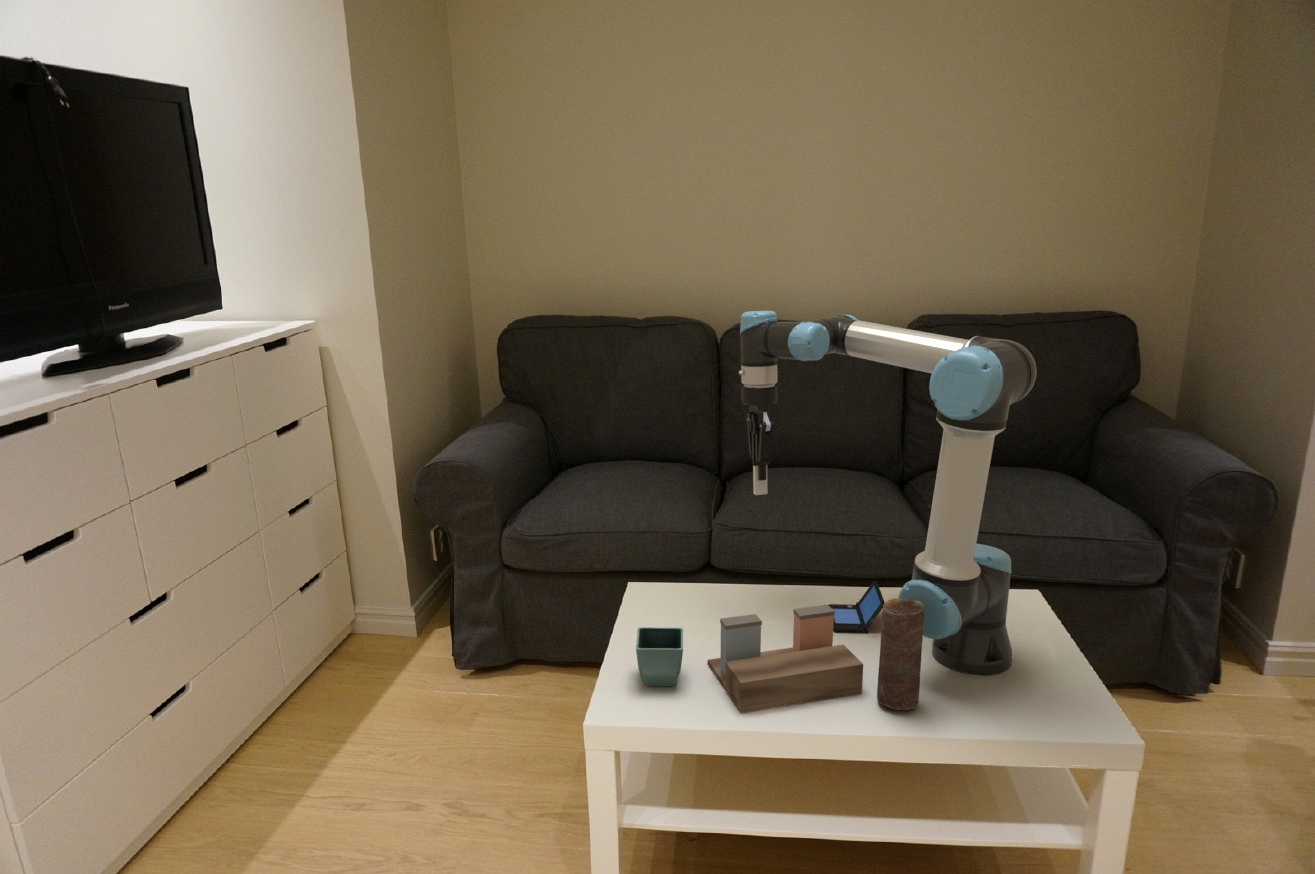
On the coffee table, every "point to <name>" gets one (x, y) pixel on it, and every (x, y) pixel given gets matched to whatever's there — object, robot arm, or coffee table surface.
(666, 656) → the flower pot
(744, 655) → the key slate
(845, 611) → the handheld game console
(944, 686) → the coffee table surface
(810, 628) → the key terracotta
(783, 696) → the key block
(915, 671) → the candle
